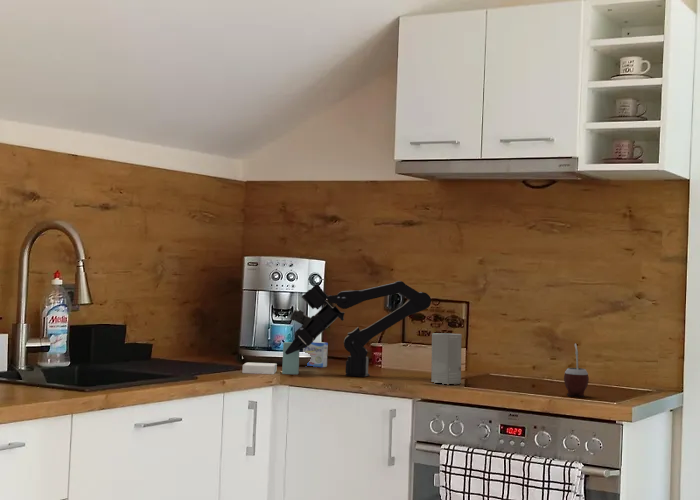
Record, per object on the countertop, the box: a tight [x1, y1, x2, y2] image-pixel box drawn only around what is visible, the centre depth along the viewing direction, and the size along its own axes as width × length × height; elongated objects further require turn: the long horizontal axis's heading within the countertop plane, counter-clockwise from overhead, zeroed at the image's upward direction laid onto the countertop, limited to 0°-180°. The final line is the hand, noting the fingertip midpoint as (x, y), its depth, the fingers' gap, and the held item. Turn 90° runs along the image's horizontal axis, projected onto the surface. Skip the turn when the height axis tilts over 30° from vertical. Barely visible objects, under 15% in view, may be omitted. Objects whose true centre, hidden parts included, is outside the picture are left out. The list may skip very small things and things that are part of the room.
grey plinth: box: [241, 362, 278, 375], centre depth 320 cm, size 10×10×2 cm
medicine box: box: [302, 341, 329, 368], centre depth 347 cm, size 8×4×9 cm, turn 73°
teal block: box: [281, 341, 301, 375], centre depth 319 cm, size 4×5×10 cm
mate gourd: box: [563, 343, 589, 399], centre depth 286 cm, size 8×8×15 cm
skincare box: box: [431, 332, 463, 385], centre depth 306 cm, size 8×7×16 cm
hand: (287, 352), depth 320 cm, fingers open, 9 cm apart
